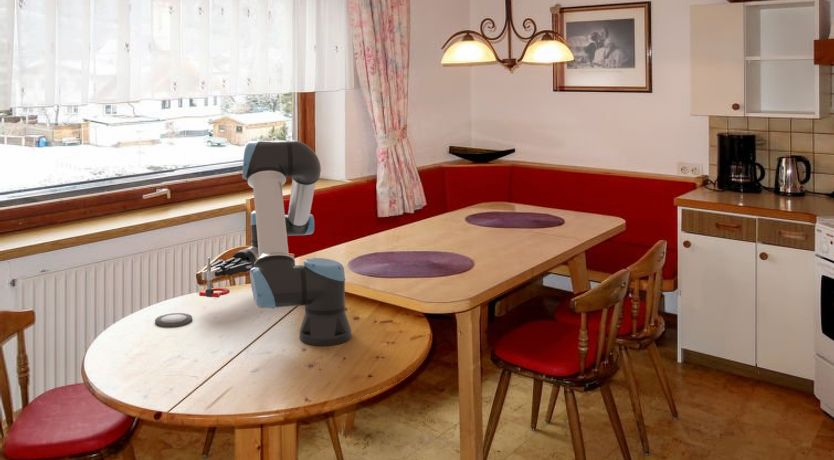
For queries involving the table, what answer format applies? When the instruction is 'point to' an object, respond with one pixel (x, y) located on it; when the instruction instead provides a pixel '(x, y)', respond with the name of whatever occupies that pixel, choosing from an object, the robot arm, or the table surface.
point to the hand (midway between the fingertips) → (205, 276)
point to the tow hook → (210, 291)
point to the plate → (173, 320)
